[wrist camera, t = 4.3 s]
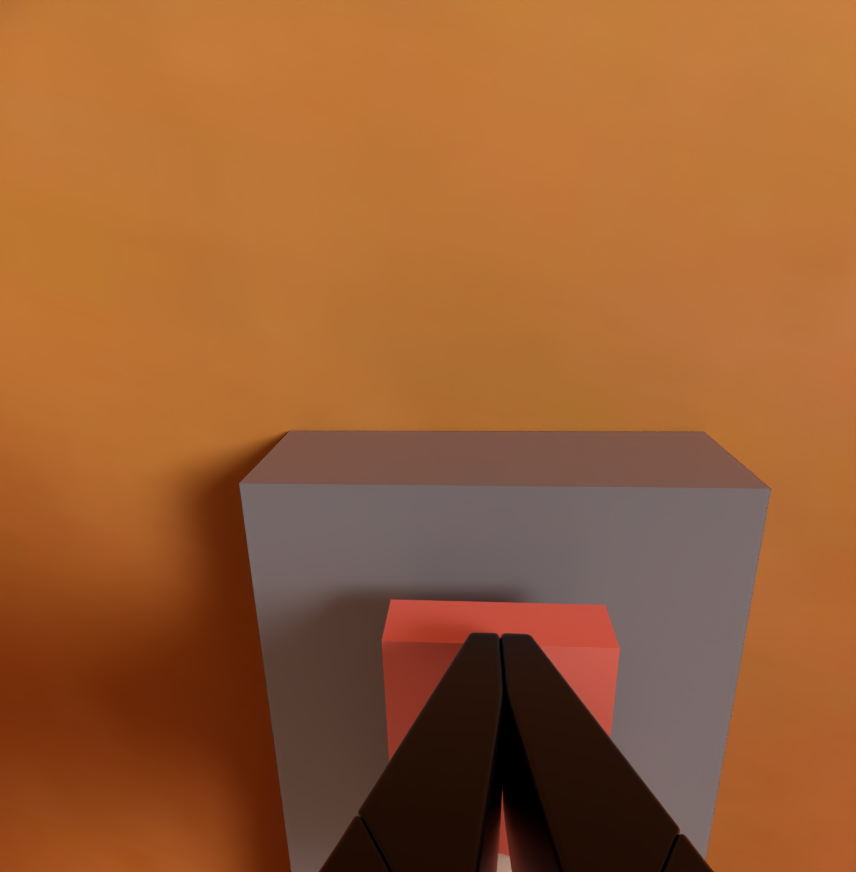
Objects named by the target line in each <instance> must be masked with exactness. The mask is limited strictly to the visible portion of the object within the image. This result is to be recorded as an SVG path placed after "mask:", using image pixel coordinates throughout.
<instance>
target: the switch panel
mask: <svg viewBox="0 0 856 872" xmlns="http://www.w3.org/2000/svg"><path fill="white" fill-rule="evenodd" d="M239 487H240V494H241V501H242V509H243V516H244V524H245V531H246V539H247V546H248V553H249V561H250V568H251V576H252V583H253V591H254V598H255V606H256V613H257V620H258V628H259V635H260V643H261V650H262V658H263V665H264V673H265V680H266V687H267V695H268V702H269V710H270V717H271V725H272V732H273V739H274V747H275V754H276V762H277V769H278V777H279V784H280V792H281V799H282V806H283V814H284V821H285V829H286V836H287V844H288V851H289V859H290V866H291V872H319V870H320V869H321V867H322V866H323V864H324V863H325V861H326V860H327V858H328V857H329V855H330V854H331V852H332V851H333V850H334V848H335V847H336V845H337V843H338V842H339V840H340V839H341V837H342V835H343V834H344V832H345V831H346V829H347V828H348V826H349V824H350V823H351V821H352V820H353V818H354V817H355V816H358V811H359V809H360V807H361V806H362V804H363V803H364V801H365V799H366V798H367V796H368V795H369V793H370V791H371V790H372V788H373V787H374V785H375V783H376V782H377V780H378V779H379V777H380V775H381V774H382V772H383V771H384V769H385V768H386V766H387V764H388V763H389V750H388V734H387V719H386V703H385V687H384V671H383V656H382V637H383V632H384V628H385V623H386V619H387V614H388V610H389V605H390V601H391V599H394V600H433V601H472V602H511V603H551V604H590V605H606V608H607V611H608V614H609V617H610V620H611V623H612V626H613V629H614V632H615V635H616V638H617V641H618V644H619V647H620V653H619V662H618V671H617V681H616V690H615V699H614V709H613V718H612V727H611V736H610V738H611V740H612V741H613V742H614V744H615V745H616V746H617V747H618V749H619V750H620V751H621V753H622V754H623V755H624V757H625V758H626V759H627V760H628V762H629V763H630V764H631V766H632V767H633V768H634V770H635V771H636V772H637V773H638V775H639V776H640V777H641V779H642V780H643V781H644V782H645V784H646V785H647V786H648V788H649V789H650V790H651V792H652V793H653V794H654V795H655V797H656V798H657V799H658V801H659V802H660V803H661V804H662V806H663V807H664V808H665V810H666V811H667V812H668V814H669V815H670V816H671V817H672V819H673V820H674V821H675V823H676V824H677V825H678V827H679V828H680V834H684V835H686V836H687V838H688V839H689V840H690V842H691V843H692V844H693V846H694V847H695V848H696V850H697V851H698V852H699V853H700V855H701V856H702V857H703V859H704V860H706V855H707V849H708V843H709V838H710V832H711V826H712V821H713V815H714V809H715V804H716V798H717V792H718V787H719V781H720V775H721V770H722V764H723V758H724V753H725V747H726V741H727V736H728V730H729V724H730V719H731V713H732V707H733V702H734V696H735V690H736V685H737V679H738V673H739V667H740V662H741V656H742V650H743V645H744V639H745V633H746V628H747V622H748V616H749V611H750V605H751V599H752V594H753V588H754V582H755V577H756V571H757V565H758V560H759V554H760V548H761V543H762V537H763V531H764V526H765V520H766V514H767V509H768V503H769V497H770V492H771V488H770V487H768V486H767V485H766V484H765V483H764V482H763V481H761V480H760V479H759V478H758V477H757V476H756V475H754V474H753V473H752V472H751V471H750V470H748V469H747V468H746V467H745V466H744V465H743V464H741V463H740V462H739V461H738V460H737V459H736V458H734V457H733V456H732V455H731V454H730V453H729V452H727V451H726V450H725V449H724V448H723V447H721V446H720V445H719V444H718V443H717V442H716V441H714V440H713V439H712V438H711V437H710V436H709V435H707V434H706V433H705V432H575V431H289V432H288V433H287V434H286V435H285V436H284V437H283V438H282V439H281V440H280V441H279V442H278V444H277V445H276V446H275V447H274V448H273V449H272V450H271V451H270V452H269V453H268V454H267V455H266V456H265V457H264V458H263V459H262V460H261V461H260V462H259V463H258V464H257V465H256V466H255V467H254V468H253V469H252V471H251V472H250V473H249V474H248V475H247V476H246V477H245V478H244V479H243V480H242V481H241V482H240V483H239Z"/></svg>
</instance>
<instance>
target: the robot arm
mask: <svg viewBox="0 0 856 872" xmlns="http://www.w3.org/2000/svg"><path fill="white" fill-rule="evenodd" d="M502 796H503V811H504V819H505V828H506V835H507V842H508V849H509V855H510V862H511V869H512V872H714V871H713V870H712V869H711V868H710V866H709V865H708V864H707V863H706V861H705V860H704V859H703V857H702V856H701V855H700V853H699V852H698V851H697V850H696V848H695V847H694V846H693V844H692V843H691V842H690V840H689V839H688V838H687V836H686V835H684V834H680V828H679V827H678V825H677V824H676V823H675V821H674V820H673V819H672V817H671V816H670V815H669V814H668V812H667V811H666V810H665V808H664V807H663V806H662V804H661V803H660V802H659V801H658V799H657V798H656V797H655V795H654V794H653V793H652V792H651V790H650V789H649V788H648V786H647V785H646V784H645V782H644V781H643V780H642V779H641V777H640V776H639V775H638V773H637V772H636V771H635V770H634V768H633V767H632V766H631V764H630V763H629V762H628V760H627V759H626V758H625V757H624V755H623V754H622V753H621V751H620V750H619V749H618V747H617V746H616V745H615V744H614V742H613V741H612V740H611V738H610V737H609V736H608V735H607V733H606V732H605V731H604V729H603V728H602V727H601V725H600V724H599V723H598V722H597V720H596V719H595V718H594V716H593V715H592V714H591V712H590V711H589V710H588V709H587V707H586V706H585V705H584V703H583V702H582V701H581V700H580V698H579V697H578V696H577V694H576V693H575V692H574V690H573V689H572V688H571V687H570V685H569V684H568V683H567V681H566V680H565V679H564V677H563V676H562V675H561V674H560V672H559V671H558V670H557V668H556V667H555V666H554V665H553V663H552V662H551V661H550V659H549V658H548V657H547V655H546V654H545V653H544V652H543V650H542V649H541V648H540V646H539V645H538V644H537V642H536V641H535V640H534V639H533V637H532V636H531V635H529V634H519V633H504V634H502V635H501V637H499V635H498V634H497V633H485V632H473V633H470V634H469V636H468V637H467V638H466V640H465V642H464V643H463V645H462V646H461V648H460V650H459V651H458V653H457V654H456V656H455V658H454V659H453V661H452V662H451V664H450V666H449V667H448V669H447V670H446V672H445V674H444V675H443V677H442V678H441V680H440V681H439V683H438V685H437V686H436V688H435V689H434V691H433V693H432V694H431V696H430V697H429V699H428V701H427V702H426V704H425V705H424V707H423V709H422V710H421V712H420V713H419V715H418V717H417V718H416V720H415V721H414V723H413V724H412V726H411V728H410V729H409V731H408V732H407V734H406V736H405V737H404V739H403V740H402V742H401V744H400V745H399V747H398V748H397V750H396V752H395V753H394V755H393V756H392V758H391V760H390V761H389V763H388V764H387V766H386V768H385V769H384V771H383V772H382V774H381V775H380V777H379V779H378V780H377V782H376V783H375V785H374V787H373V788H372V790H371V791H370V793H369V795H368V796H367V798H366V799H365V801H364V803H363V804H362V806H361V807H360V809H359V811H358V816H355V817H354V818H353V820H352V821H351V823H350V824H349V826H348V828H347V829H346V831H345V832H344V834H343V835H342V837H341V839H340V840H339V842H338V843H337V845H336V847H335V848H334V850H333V851H332V852H331V854H330V855H329V857H328V858H327V860H326V861H325V863H324V864H323V866H322V867H321V869H320V870H319V872H497V862H498V851H499V839H500V827H501V810H502Z"/></svg>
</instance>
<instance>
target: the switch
mask: <svg viewBox="0 0 856 872" xmlns="http://www.w3.org/2000/svg"><path fill="white" fill-rule="evenodd" d="M473 632H485V633H497V634H498V635H499V637H501V635H502V634H504V633H519V634H529V635H531V636H532V637H533V639H534V640H535V641H536V642H537V644H538V645H539V646H540V648H541V649H542V650H543V652H544V653H545V654H546V655H547V657H548V658H549V659H550V661H551V662H552V663H553V665H554V666H555V667H556V668H557V670H558V671H559V672H560V674H561V675H562V676H563V677H564V679H565V680H566V681H567V683H568V684H569V685H570V687H571V688H572V689H573V690H574V692H575V693H576V694H577V696H578V697H579V698H580V700H581V701H582V702H583V703H584V705H585V706H586V707H587V709H588V710H589V711H590V712H591V714H592V715H593V716H594V718H595V719H596V720H597V722H598V723H599V724H600V725H601V727H602V728H603V729H604V731H605V732H606V733H607V735H608V736H609V737H610V736H611V727H612V718H613V709H614V699H615V690H616V681H617V671H618V662H619V653H620V647H619V644H618V641H617V638H616V635H615V632H614V629H613V626H612V623H611V620H610V617H609V614H608V611H607V608H606V605H590V604H551V603H511V602H472V601H433V600H394V599H391V601H390V605H389V610H388V614H387V619H386V623H385V628H384V632H383V637H382V656H383V671H384V687H385V703H386V719H387V734H388V750H389V761H390V760H391V758H392V756H393V755H394V753H395V752H396V750H397V748H398V747H399V745H400V744H401V742H402V740H403V739H404V737H405V736H406V734H407V732H408V731H409V729H410V728H411V726H412V724H413V723H414V721H415V720H416V718H417V717H418V715H419V713H420V712H421V710H422V709H423V707H424V705H425V704H426V702H427V701H428V699H429V697H430V696H431V694H432V693H433V691H434V689H435V688H436V686H437V685H438V683H439V681H440V680H441V678H442V677H443V675H444V674H445V672H446V670H447V669H448V667H449V666H450V664H451V662H452V661H453V659H454V658H455V656H456V654H457V653H458V651H459V650H460V648H461V646H462V645H463V643H464V642H465V640H466V638H467V637H468V636H469V634H470V633H473ZM497 872H512V869H511V862H510V855H509V849H508V842H507V835H506V828H505V819H504V811H503V796H502V810H501V827H500V839H499V851H498V862H497Z"/></svg>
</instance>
